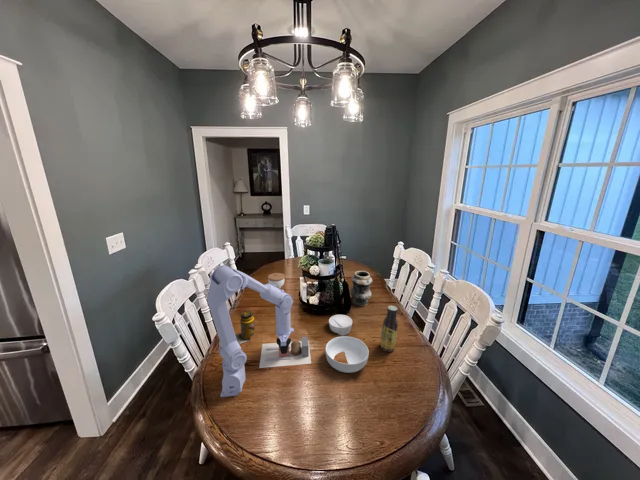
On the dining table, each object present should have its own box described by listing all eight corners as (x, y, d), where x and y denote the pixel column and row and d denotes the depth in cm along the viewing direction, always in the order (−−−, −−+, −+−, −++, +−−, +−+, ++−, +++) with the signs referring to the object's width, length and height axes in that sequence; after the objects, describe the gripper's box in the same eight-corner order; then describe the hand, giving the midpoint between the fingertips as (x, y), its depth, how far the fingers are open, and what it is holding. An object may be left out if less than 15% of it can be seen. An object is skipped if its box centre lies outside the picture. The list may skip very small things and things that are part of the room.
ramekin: (324, 333, 122) (324, 323, 120) (334, 321, 131) (334, 312, 130) (346, 340, 117) (347, 330, 115) (355, 327, 126) (355, 317, 125)
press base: (311, 366, 101) (311, 352, 99) (259, 371, 99) (258, 357, 97) (308, 343, 115) (308, 330, 113) (262, 346, 112) (261, 333, 110)
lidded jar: (266, 285, 170) (265, 272, 168) (282, 282, 175) (281, 269, 172) (270, 292, 161) (270, 278, 159) (287, 288, 166) (286, 275, 163)
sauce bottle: (377, 347, 112) (380, 306, 107) (385, 341, 116) (389, 301, 111) (389, 355, 108) (393, 313, 102) (398, 348, 112) (402, 308, 106)
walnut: (301, 355, 105) (300, 347, 104) (291, 356, 105) (291, 347, 104) (300, 348, 109) (300, 340, 108) (291, 349, 108) (290, 341, 107)
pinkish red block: (289, 356, 104) (288, 343, 103) (279, 356, 104) (278, 344, 102) (289, 349, 108) (288, 337, 107) (279, 350, 108) (278, 337, 106)
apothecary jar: (371, 308, 143) (373, 278, 139) (349, 306, 145) (350, 277, 140) (370, 297, 155) (372, 270, 150) (350, 296, 157) (351, 268, 152)
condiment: (258, 337, 118) (256, 314, 115) (239, 344, 114) (237, 320, 110) (252, 329, 124) (251, 307, 121) (235, 335, 120) (232, 312, 116)
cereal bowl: (373, 358, 106) (374, 344, 104) (358, 387, 92) (359, 371, 90) (336, 344, 114) (337, 330, 112) (317, 368, 100) (317, 353, 98)
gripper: (293, 330, 96) (294, 361, 99) (292, 310, 109) (293, 337, 113) (274, 332, 95) (276, 362, 98) (276, 311, 109) (277, 338, 112)
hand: (284, 349), depth 106 cm, fingers closed on pinkish red block, 4 cm apart
